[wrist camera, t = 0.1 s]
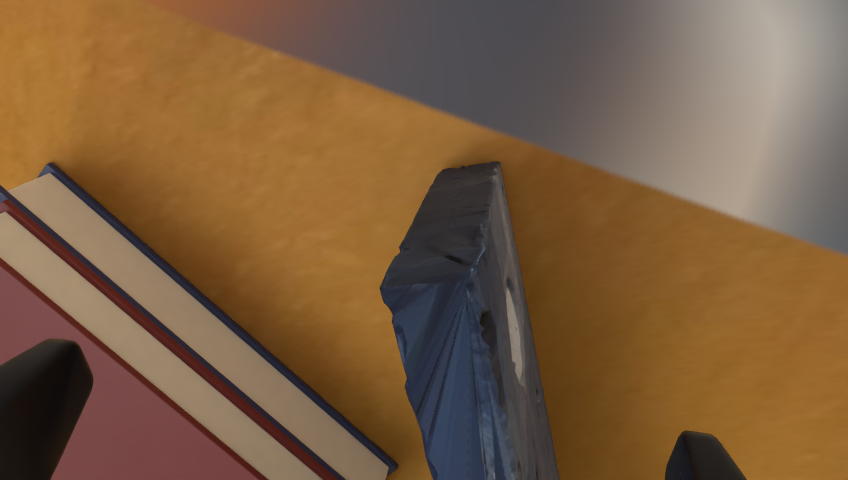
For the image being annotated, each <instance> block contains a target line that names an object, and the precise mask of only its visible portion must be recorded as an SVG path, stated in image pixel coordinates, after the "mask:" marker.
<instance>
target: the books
mask: <svg viewBox="0 0 848 480" xmlns="http://www.w3.org/2000/svg"><path fill="white" fill-rule="evenodd" d="M49 338H59V339H66V340H72V341H75V342H77V343H78V344H79V345H80V347H81V349H82V351H83V353H84V356H85V358H86V360H87V362H88V365H89V367H90V369H91V371H92V374H93V379H94V381H93V388H92V391H91V394H90V396H89V398H88V400H87V402H86V404H85V407H84V409H83V411H82V413H81V415H80V417H79V420H78V422H77V424H76V426H75V428H74V431H73V433H72V435H71V437H70V439H69V441H68V444H67V446H66V448H65V450H64V452H63V455H62V457H61V459H60V461H59V463H58V465H57V467H56V469H55V471H54V473H53V475H52V478H51V480H385V479H386V476H388V475H389V474H391V473H392V472H393V471H395V470H396V469H397V467H398V464H397V463H395V462H394V461H393V460H392V459H391V458H390V457H389V456H387V455H386V454H385V453H384V452H383V451H382V450H381V449H379V448H378V447H377V446H376V445H375V444H374V443H373V442H371V441H370V440H369V439H368V438H367V437H366V436H365V435H363V434H362V433H361V432H360V431H359V430H358V429H357V428H355V427H354V426H353V425H352V424H351V423H350V422H349V421H347V420H346V419H345V418H344V417H343V416H342V415H341V414H339V413H338V412H337V411H336V410H335V409H334V408H333V407H331V406H330V405H329V404H328V403H327V402H326V401H324V400H323V399H322V398H321V397H320V396H319V395H318V394H316V393H315V392H314V391H313V390H312V389H311V388H310V387H308V386H307V385H306V384H305V383H304V382H303V381H302V380H300V379H299V378H298V377H297V376H296V375H295V374H294V373H292V372H291V371H290V370H289V369H288V368H287V367H286V366H284V365H283V364H282V363H281V362H280V361H279V360H278V359H276V358H275V357H274V356H273V355H272V354H271V353H270V352H268V351H267V350H266V349H265V348H264V347H263V346H262V345H260V344H259V343H258V342H257V341H256V340H255V339H253V338H252V337H251V336H250V335H249V334H248V333H247V332H245V331H244V330H243V329H242V328H241V327H240V326H239V325H237V324H236V323H235V322H234V321H233V320H232V319H231V318H229V317H228V316H227V315H226V314H225V313H224V312H223V311H221V310H220V309H219V308H218V307H217V306H216V305H215V304H213V303H212V302H211V301H210V300H209V299H208V298H207V297H205V296H204V295H203V294H202V293H201V292H200V291H199V290H197V289H196V288H195V287H194V286H193V285H192V284H190V283H189V282H188V281H187V280H186V279H185V278H184V277H182V276H181V275H180V274H179V273H178V272H177V271H176V270H174V269H173V268H172V267H171V266H170V265H169V264H168V263H166V262H165V261H164V260H163V259H162V258H161V257H160V256H158V255H157V254H156V253H155V252H154V251H153V250H152V249H150V248H149V247H148V246H147V245H146V244H145V243H144V242H142V241H141V240H140V239H139V238H138V237H137V236H136V235H134V234H133V233H132V232H131V231H130V230H129V229H128V228H126V227H125V226H124V225H123V224H122V223H121V222H119V221H118V220H117V219H116V218H115V217H114V216H113V215H111V214H110V213H109V212H108V211H107V210H106V209H105V208H103V207H102V206H101V205H100V204H99V203H98V202H97V201H95V200H94V199H93V198H92V197H91V196H90V195H89V194H87V193H86V192H85V191H84V190H83V189H82V188H81V187H79V186H78V185H77V184H76V183H75V182H74V181H73V180H71V179H70V178H69V177H68V176H67V175H66V174H65V173H63V172H62V171H61V170H60V169H59V168H58V167H57V166H55V165H54V164H53V163H52V162H51V163H48V164H47V165H46V166H45V167H44V169H43V170H42V172H41V173H40V175H39V176H38V177H37V178H36V179H34V180H32V181H29V182H27V183H25V184H22V185H20V186H17V187H15V188H13V189H10V190H8V191H7V190H5V189H4V188H3V187H2V186H1V185H0V365H2V364H3V363H5V362H7V361H9V360H10V359H12V358H14V357H16V356H17V355H19V354H21V353H23V352H24V351H26V350H28V349H30V348H31V347H33V346H35V345H37V344H38V343H40V342H42V341H44V340H46V339H49Z"/></svg>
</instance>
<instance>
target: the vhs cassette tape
mask: <svg viewBox="0 0 848 480" xmlns="http://www.w3.org/2000/svg"><path fill="white" fill-rule="evenodd" d="M399 248H400V253H399V254H398V255H397V256H395V258H394V259H393V261H392V263H391V264H390V266H389V268H388V270H387V272H386V274H385V277H384V279H383V282H382V284H381V286H380V291H381V295H382V299H383V301H384V303H385V304H386V305H387V306H388V307H389V309H390V310H391V312H392V314H393V317H392V324H393V327H394V331H395V335H396V339H397V343H398V346H399V350H400V354H401V358H402V362H403V366H404V370H405V373H406V377H407V380H406V384H405V389H406V393H407V396H408V400H409V402H410V404H411V406H412V409H413V411H414V413H415V415H416V418H417V421H418V424H419V427H420V430H421V433H422V438H423V444H424V450H425V456H426V459H427V462H428V465H429V468H430V471H431V475H432V478H433V480H560V479H559V474H558V469H557V464H556V459H555V453H554V447H553V441H552V436H551V430H550V425H549V420H548V415H547V410H546V405H545V400H544V392H543V387H542V383H541V378H540V373H539V367H538V362H537V356H536V351H535V345H534V340H533V334H532V329H531V323H530V318H529V313H528V308H527V302H526V297H525V291H524V286H523V280H522V275H521V270H520V264H519V259H518V254H517V249H516V244H515V240H514V234H513V228H512V222H511V217H510V213H509V208H508V203H507V197H506V192H505V186H504V181H503V176H502V171H501V163H500V162H490V163H485V164H477V165H470V166H468V167H464V166H462V167H461V169H456V168H449V169H443V170H442V171H441V172H440V173H439V174H438V175H437V176H436V178H435V180H434V182H433V184H432V185H431V187H430V189H429V191H428V193H427V195H426V197H425V198H424V200H423V202H422V205H421V206H420V208H419V210H418V212H417V214H416V216H415V218H414V221H413V223H412V225H411V227H410V228H409V230H408V232H407V234H406V236H405V238H404V240H403V242H402V243H401V245H400V246H399Z"/></svg>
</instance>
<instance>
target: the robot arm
mask: <svg viewBox="0 0 848 480" xmlns="http://www.w3.org/2000/svg"><path fill="white" fill-rule="evenodd" d="M93 381H94V379H93V374H92V371H91V369H90V367H89V365H88V362H87V360H86V358H85V356H84V353H83V351H82V349H81V347H80V345H79V344H78V343H77V342H75V341H72V340H66V339H59V338H49V339H46V340H44V341H42V342H40V343H38V344H37V345H35V346H33V347H31V348H30V349H28V350H26V351H24V352H23V353H21V354H19V355H17V356H16V357H14V358H12V359H10V360H9V361H7V362H5V363H3V364H2V365H0V480H51V478H52V475H53V473H54V471H55V469H56V467H57V465H58V463H59V461H60V459H61V457H62V455H63V452H64V450H65V448H66V446H67V444H68V441H69V439H70V437H71V435H72V433H73V431H74V428H75V426H76V424H77V422H78V420H79V417H80V415H81V413H82V411H83V409H84V407H85V404H86V402H87V400H88V398H89V396H90V394H91V391H92V388H93ZM665 480H747V479H746V478H745V476H744V475H743V474H742V472H741V471H740V469H739V468H738V467H737V465H736V464H735V463H734V461H733V460H732V458H731V457H730V456H729V454H728V453H727V451H726V450H725V449H724V447H723V446H722V444H721V443H720V442H719V440H718V439H717V438H716V437H714V436H713V435H711V434H708V433H701V432H694V431H683V432H682V433H681V434H680V435H679V437H678V440H677V442H676V444H675V447H674V449H673V451H672V454H671V456H670V459H669V461H668V463H667V467H666V473H665Z"/></svg>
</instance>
